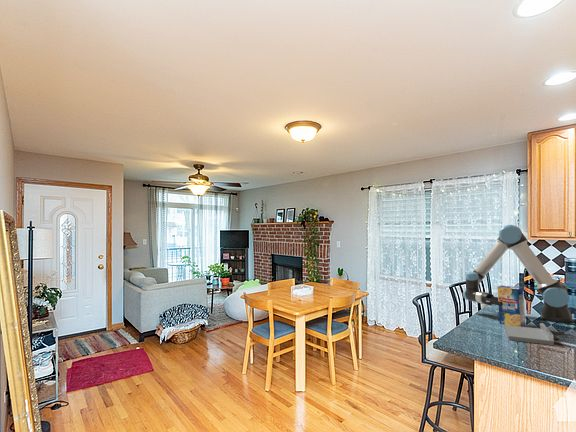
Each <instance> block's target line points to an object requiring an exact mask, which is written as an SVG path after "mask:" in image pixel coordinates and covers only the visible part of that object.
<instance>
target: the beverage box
mask: <svg viewBox="0 0 576 432" xmlns="http://www.w3.org/2000/svg"><path fill="white" fill-rule="evenodd" d="M497 297H498V301H499V302H502V303H503V305H502V306H499V305H498V316H499V318H498V319H499V320H498V321H499V324H501V325H503V326H504V325H510V326H519V327H526V315H525V307H524V308H522V303H524V304H525V302H524V301H525V299H524V287H518V286H510V285H498V286H497ZM508 304H510V306H508ZM515 304H517V309H516V308H515Z"/></svg>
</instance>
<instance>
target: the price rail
mask: <svg viewBox="0 0 576 432" xmlns="http://www.w3.org/2000/svg"><path fill="white" fill-rule="evenodd" d="M539 329H541V330H542V332H543V333H544V334H545V336H546V337H547V338H548V339H549V341H555V340H554V333H552V332H551V330H550V329H549V328H548V326H546V325H545V324H544V323H543V322H540V323H539Z"/></svg>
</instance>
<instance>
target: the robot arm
mask: <svg viewBox="0 0 576 432" xmlns="http://www.w3.org/2000/svg"><path fill="white" fill-rule="evenodd" d="M507 250H512V251H513V253H514V254H515V256H516V257H517V258H518V259H519V261H520V262H521V264H522V265H523V266H524V268H525V269H526V271H527V272H528V273H529V275H530V276H531V278H532V279H533V280H534V282H535V283H536V285H537V286H536V289H537V291H538V292H539V294H540V295H541V297H542V298H543V307H542V309H541V312H540V318H542V319H544V320H546V321H550V322H551V321H552V322H558V323H571V322H572V323H573V321H574V320H573V319H574V318H573V316H572V314H571V312H570V310H569V309H570V308H569V301H570V295H569V293H568V286H567V284H566V283H565V282H559V280H557V279H554V278H553V277H552V275H551V274H550V273H549V271H548V270H547V269H546V267H545V266H544V264H543V263H542V262H541V260H540V259H539V258H538V257H537V255H536V254H535V252H533V250H532V249H531V247H530V246H529V245H528V239H527V237H526V235H525V234H524V233H523V232H522V229H521V228H520V227H519V226H516V225H513V224H506V225H504V226H502V227H501V228H500V229H499V231H498V237H497V239H496V243H495V244H494V245H493V246H492V248H491V249H490V250H489V252H488V253H487V254H486V255H485V256H484V257H483V259H482V260H481V261H480V262H479V264H478V265H477V266H476V268H475V269H474V270H473V271H468V272H466V273H465V287H466V288H465V289H464V290H463V292H462V297H463V299H465V300H467V301H470V302H473V303H478V304H481V305H483V304H484V305H487V306H492V305H495V306H498V307H499V306H502V305H503V303H502V302H499V301H498V296H495V295H494V294H493V293H490V292H485V291H480V286H479V285H480V283H481V282H483V279H484V278H485V277H486V275H487V274H489V272H490V271H491V270H492V269H493V267H494V266H495V265H496V264H497V263H498V262H499V260H500V259H501V258H502V257H503V256H504V254H505V253H506V252H507ZM508 306H510V304H508ZM515 308H516V309H517V304H515ZM522 308H524V309H525V302H524V303H522Z"/></svg>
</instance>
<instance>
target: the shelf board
mask: <svg viewBox="0 0 576 432" xmlns="http://www.w3.org/2000/svg"><path fill="white" fill-rule="evenodd" d="M503 330H504V331H505V334H506V336H507V338H508V341H516V342H525V343H530V344H531V343H532V344H538V343H539V345H547V346H555V342H554V341H555V340H554V341H549V339H548V338H547V337H546V336H545V334H544V333H543V332H542V330H541V329H540V327H538V328H537V327H529V326H528V327H527V326H523V327H519V326H510V325H504V324H503Z"/></svg>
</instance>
